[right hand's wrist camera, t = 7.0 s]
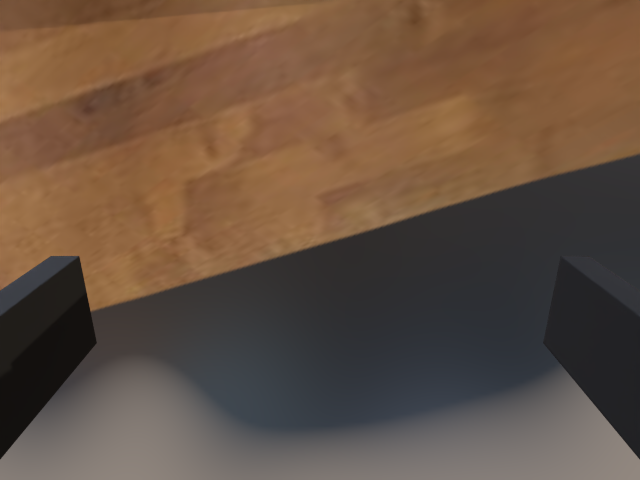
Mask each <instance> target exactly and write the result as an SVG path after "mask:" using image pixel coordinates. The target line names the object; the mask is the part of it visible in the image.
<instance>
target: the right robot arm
mask: <svg viewBox="0 0 640 480" xmlns="http://www.w3.org/2000/svg"><path fill="white" fill-rule="evenodd" d="M96 343H97V342H96V337H95V332H94V327H93V322H92V317H91V312H90V307H89V302H88V297H87V292H86V288H85V283H84V278H83V273H82V268H81V263H80V258H79V256H51V257H49V258H48V259H46V260H45V261H43V262H42V263H40V264H39V265H37V266H36V267H34V268H33V269H31V270H30V271H29V272H27V273H26V274H24V275H23V276H21V277H20V278H18V279H17V280H15V281H14V282H12V283H11V284H9V285H8V286H6V287H5V288H3V289H2V290H1V291H0V459H1V458H2V457H3V455H4V454H5V453H6V452H7V451H8V449H9V448H10V447H11V446H12V445H13V443H14V442H15V441H16V440H17V438H18V437H19V436H20V435H21V434H22V432H23V431H24V430H25V429H26V428H27V426H28V425H29V424H30V423H31V422H32V420H33V419H34V418H35V417H36V416H37V414H38V413H39V412H40V411H41V410H42V408H43V407H44V406H45V405H46V404H47V402H48V401H49V400H50V399H51V397H52V396H53V395H54V394H55V393H56V391H57V390H58V389H59V388H60V387H61V385H62V384H63V383H64V382H65V381H66V379H67V378H68V377H69V376H70V375H71V373H72V372H73V371H74V370H75V369H76V367H77V366H78V365H79V364H80V362H81V361H82V360H83V359H84V358H85V356H86V355H87V354H88V353H89V352H90V350H91V349H92V348H93V347H94V346H95V344H96ZM543 343H544V344H545V346H546V347H547V348H548V349H549V350H550V352H551V353H552V354H553V355H554V356H555V358H556V359H557V360H558V361H559V362H560V364H561V365H562V366H563V367H564V368H565V370H566V371H567V372H568V373H569V375H570V376H571V377H572V378H573V379H574V380H575V382H576V383H577V384H578V385H579V387H580V388H581V389H582V390H583V391H584V393H585V394H586V395H587V396H588V397H589V399H590V400H591V401H592V402H593V404H594V405H595V406H596V407H597V408H598V410H599V411H600V412H601V413H602V414H603V416H604V417H605V418H606V419H607V420H608V422H609V423H610V424H611V425H612V426H613V428H614V429H615V430H616V431H617V432H618V434H619V435H620V436H621V437H622V438H623V440H624V441H625V442H626V443H627V444H628V446H629V447H630V448H631V449H632V451H633V452H634V453H635V454H636V455H637V457H638V458H639V459H640V291H639V290H638V289H637V288H635V287H634V286H632V285H631V284H629V283H628V282H626V281H625V280H623V279H622V278H620V277H619V276H617V275H616V274H614V273H613V272H611V271H610V270H609V269H607V268H606V267H604V266H603V265H601V264H600V263H598V262H597V261H595V260H594V259H592V258H591V257H589V256H561V258H560V263H559V268H558V273H557V278H556V283H555V288H554V292H553V298H552V302H551V307H550V312H549V317H548V322H547V327H546V332H545V337H544V342H543Z"/></svg>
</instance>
